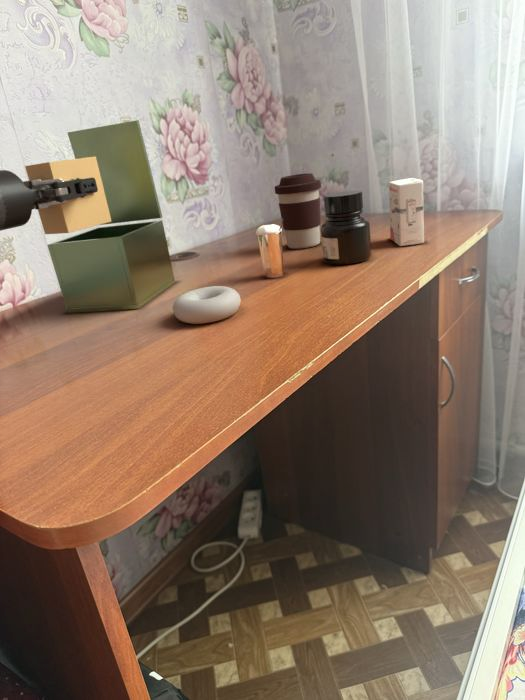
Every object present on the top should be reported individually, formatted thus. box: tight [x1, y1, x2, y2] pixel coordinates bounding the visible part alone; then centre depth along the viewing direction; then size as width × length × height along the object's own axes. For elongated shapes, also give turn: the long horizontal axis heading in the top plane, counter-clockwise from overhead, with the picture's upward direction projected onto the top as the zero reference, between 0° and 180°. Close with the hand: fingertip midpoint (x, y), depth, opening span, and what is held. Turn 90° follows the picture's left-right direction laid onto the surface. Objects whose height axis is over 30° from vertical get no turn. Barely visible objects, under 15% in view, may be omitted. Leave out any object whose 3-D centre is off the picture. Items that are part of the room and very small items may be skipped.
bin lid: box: [67, 119, 163, 226], centre depth 89 cm, size 16×14×1 cm
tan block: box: [24, 157, 112, 235], centre depth 77 cm, size 9×5×10 cm, turn 151°
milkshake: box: [255, 218, 284, 279], centre depth 88 cm, size 4×5×10 cm
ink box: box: [388, 177, 425, 247], centre depth 99 cm, size 9×5×12 cm, turn 0°
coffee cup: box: [274, 172, 322, 250], centre depth 109 cm, size 10×10×15 cm
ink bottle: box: [320, 190, 372, 266], centre depth 91 cm, size 10×9×12 cm
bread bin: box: [47, 219, 176, 314], centre depth 88 cm, size 16×14×12 cm
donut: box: [172, 285, 242, 325], centre depth 73 cm, size 10×4×10 cm
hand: (81, 186), depth 79 cm, fingers closed on tan block, 5 cm apart
